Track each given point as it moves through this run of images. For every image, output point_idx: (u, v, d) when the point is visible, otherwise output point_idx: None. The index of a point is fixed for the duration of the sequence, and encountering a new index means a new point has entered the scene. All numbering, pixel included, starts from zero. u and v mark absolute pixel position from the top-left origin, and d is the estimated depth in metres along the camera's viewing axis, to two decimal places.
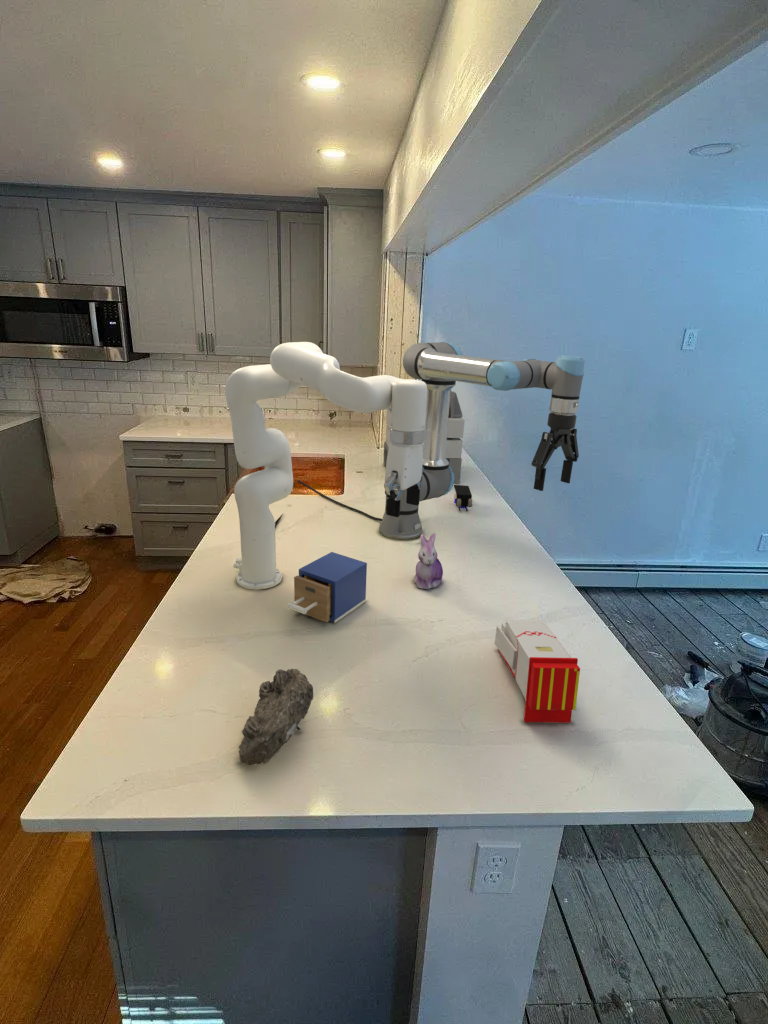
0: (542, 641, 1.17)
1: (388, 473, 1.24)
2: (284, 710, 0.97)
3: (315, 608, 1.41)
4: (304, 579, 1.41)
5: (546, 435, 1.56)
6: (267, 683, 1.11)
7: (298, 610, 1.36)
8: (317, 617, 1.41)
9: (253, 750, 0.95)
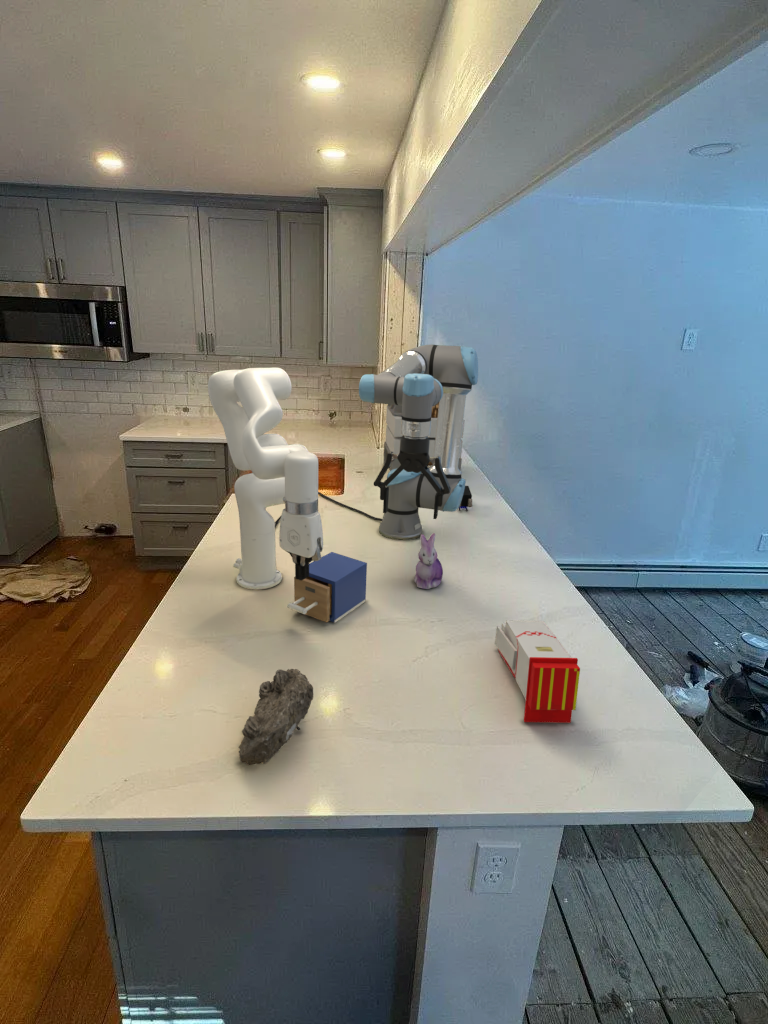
0: (542, 641, 1.17)
1: (314, 543, 1.29)
2: (284, 710, 0.97)
3: (315, 608, 1.41)
4: (304, 579, 1.41)
5: None
6: (267, 683, 1.11)
7: (298, 610, 1.36)
8: (317, 617, 1.41)
9: (253, 750, 0.95)
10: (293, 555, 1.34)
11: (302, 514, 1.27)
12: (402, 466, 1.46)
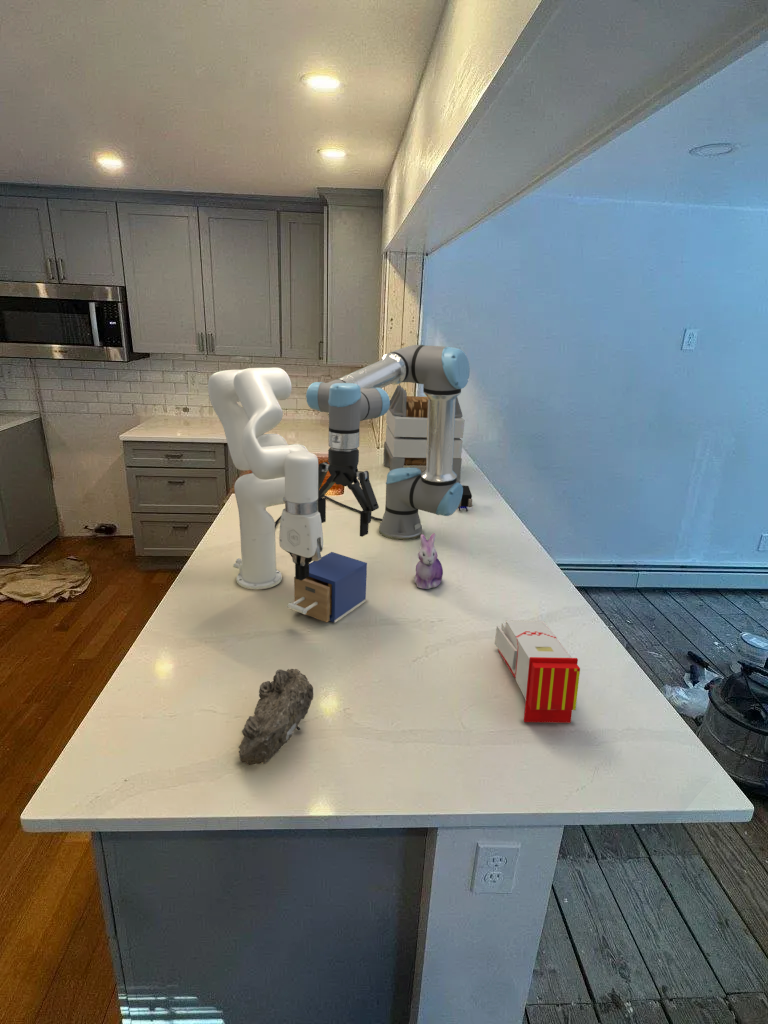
0: (542, 641, 1.17)
1: (314, 543, 1.29)
2: (284, 710, 0.97)
3: (315, 608, 1.41)
4: (304, 579, 1.41)
5: None
6: (267, 683, 1.11)
7: (298, 610, 1.36)
8: (317, 617, 1.41)
9: (253, 750, 0.95)
10: (293, 555, 1.34)
11: (302, 514, 1.27)
12: (330, 478, 1.41)
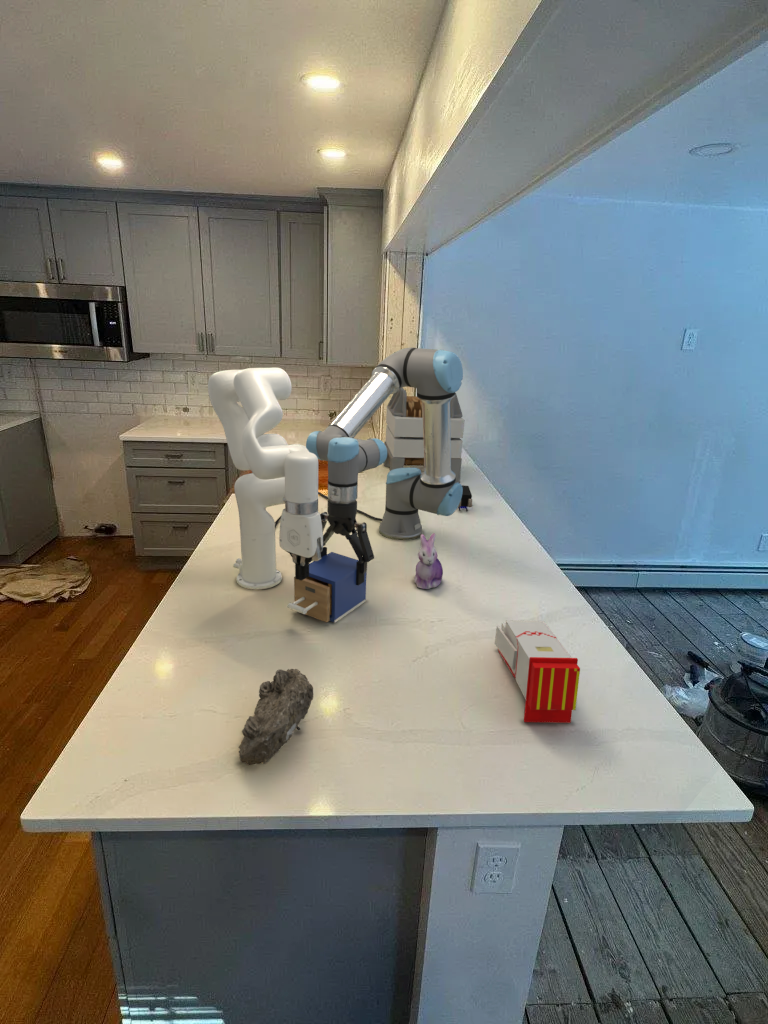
0: (542, 641, 1.17)
1: (314, 543, 1.29)
2: (284, 710, 0.97)
3: (315, 608, 1.41)
4: (304, 579, 1.41)
5: None
6: (267, 683, 1.11)
7: (298, 610, 1.36)
8: (317, 617, 1.41)
9: (253, 750, 0.95)
10: (293, 555, 1.34)
11: (302, 514, 1.27)
12: (330, 528, 1.46)
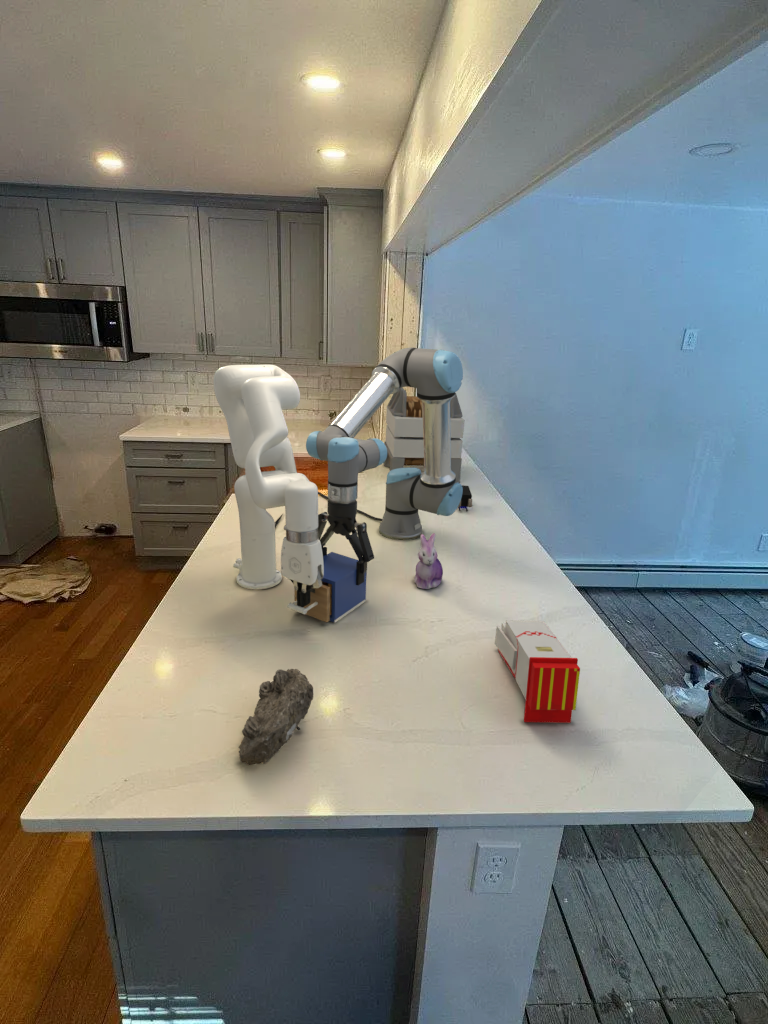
0: (542, 641, 1.17)
1: (315, 570, 1.31)
2: (284, 710, 0.97)
3: (315, 608, 1.41)
4: None
5: None
6: (267, 683, 1.11)
7: (298, 610, 1.36)
8: (317, 617, 1.41)
9: (253, 750, 0.95)
10: (294, 582, 1.36)
11: (303, 542, 1.29)
12: (330, 528, 1.46)
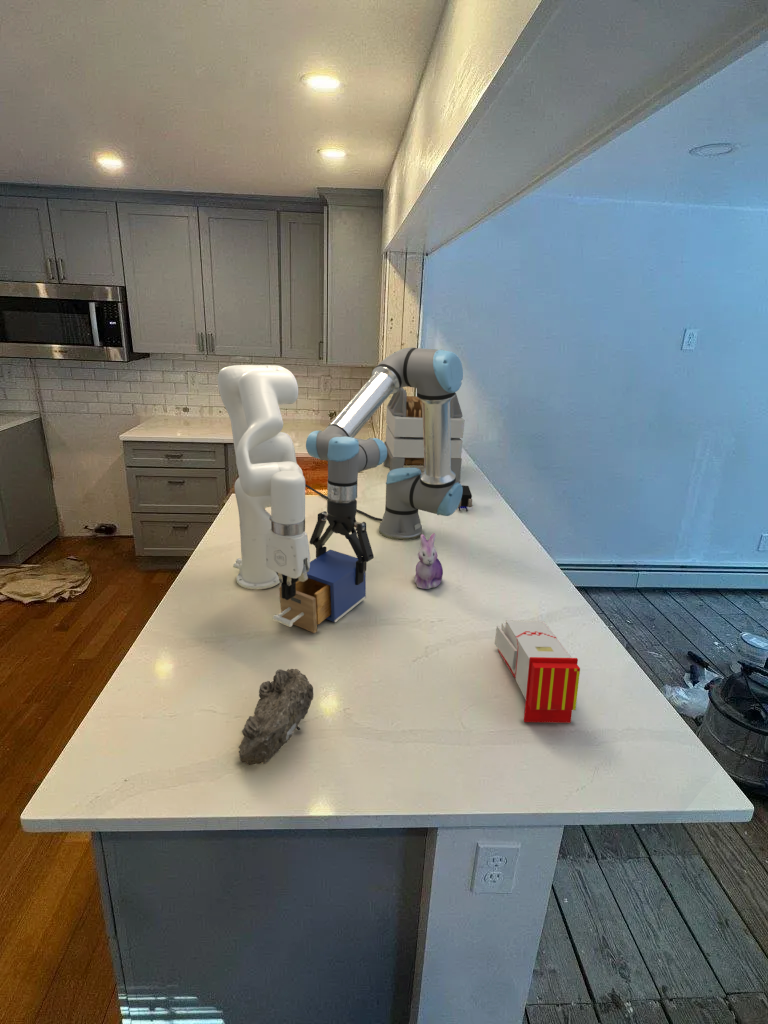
0: (542, 641, 1.17)
1: (300, 564, 1.27)
2: (284, 710, 0.97)
3: (302, 618, 1.37)
4: None
5: None
6: (267, 683, 1.11)
7: (284, 623, 1.32)
8: (304, 627, 1.38)
9: (253, 750, 0.95)
10: (279, 574, 1.32)
11: (288, 535, 1.25)
12: (329, 527, 1.46)
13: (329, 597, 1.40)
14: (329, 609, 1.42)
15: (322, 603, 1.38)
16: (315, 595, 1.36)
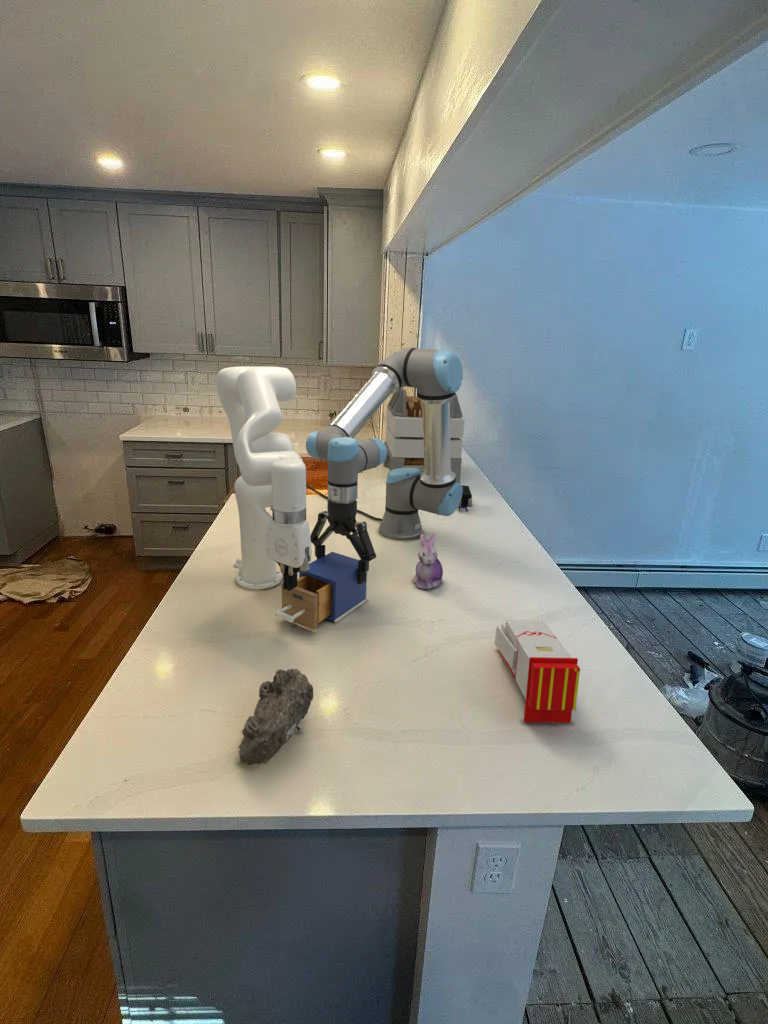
0: (542, 641, 1.17)
1: (302, 553, 1.26)
2: (284, 710, 0.97)
3: (303, 616, 1.37)
4: None
5: None
6: (267, 683, 1.11)
7: (285, 618, 1.32)
8: (305, 625, 1.38)
9: (253, 750, 0.95)
10: (281, 565, 1.31)
11: (289, 523, 1.24)
12: (329, 527, 1.46)
13: (330, 596, 1.41)
14: (330, 608, 1.42)
15: (323, 601, 1.39)
16: (317, 592, 1.36)
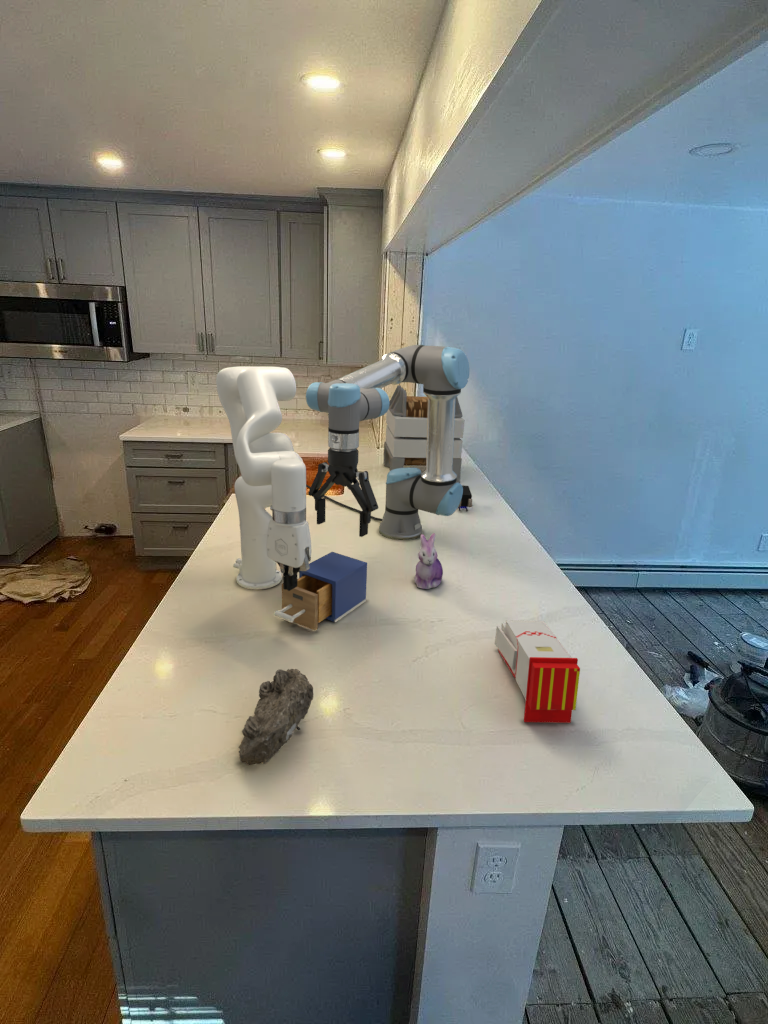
0: (542, 641, 1.17)
1: (302, 553, 1.26)
2: (284, 710, 0.97)
3: (303, 616, 1.37)
4: None
5: None
6: (267, 683, 1.11)
7: (285, 618, 1.32)
8: (305, 625, 1.38)
9: (253, 750, 0.95)
10: (281, 565, 1.31)
11: (289, 523, 1.24)
12: (330, 478, 1.41)
13: (330, 596, 1.41)
14: (330, 608, 1.42)
15: (323, 601, 1.39)
16: (317, 592, 1.36)
